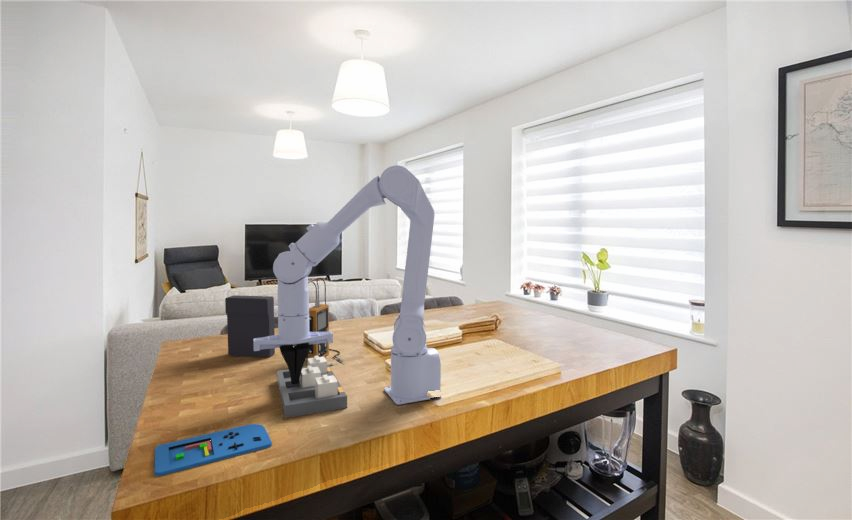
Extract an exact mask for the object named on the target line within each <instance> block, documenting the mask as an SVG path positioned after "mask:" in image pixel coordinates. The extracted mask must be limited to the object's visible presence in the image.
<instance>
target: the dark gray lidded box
mask: <svg viewBox="0 0 852 520" xmlns="http://www.w3.org/2000/svg"><path fill="white" fill-rule="evenodd" d="M274 301H275V299H274V296H269V295H266V296H265V295H263V296H262V295H231V296H227V297H225V299H224V304H225V305H224V306H225V314H226V324H227V351H228V352H227V354H228V356H229V357H246V358H247V357H248V358H266V357H269V358H270V357H272V356H273V355H275V354H276V351H275V350H276V348H270V349H261V350H260V351H254V342H253V339H254V338H262V337H268V336H273V335H275V302H274Z"/></svg>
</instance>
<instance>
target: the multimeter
mask: <svg viewBox="0 0 852 520" xmlns="http://www.w3.org/2000/svg"><path fill="white" fill-rule="evenodd" d="M318 280H322V282H323V284H324V304H323V303H322V304H321V303H320V302H321V301H320V293H319V292H320V291H319V289H320V288H319V287H320V286H319V283H318ZM309 283H312V284H313V285H314V287H315V301H314V306H312V307H311V306H310V307H309V332H328V331H330V317H329V316H330V310H329V308H330V306H329V304H327V301H326V300H327V299H326V298H327V296H326V292H327V290H326V288H327V286H326V281H325V280H324V278H322V277H318V278H316V283H315V282H314V281H309V280H308V284H309ZM309 348H310V351H309V354H308V356H307V358H306V360H305V362H306V363H308V358H314V356H319V357H325V358H326V357H328V355H329V353H330V351H333V352H337V354H336V353H335V355H333V357H334V358H335V359H337V362H335V363H327V365H329V366H330V367H332V366H333V365H336V364H339V363H340V362H341V363H344V364H347V362H345V361H344V359H341V358H340V357H337V356H339V355H340V353H341V352H340V351H339V350H336V349H331V348H330V343H318V344H309ZM338 361H340V362H338Z"/></svg>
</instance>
